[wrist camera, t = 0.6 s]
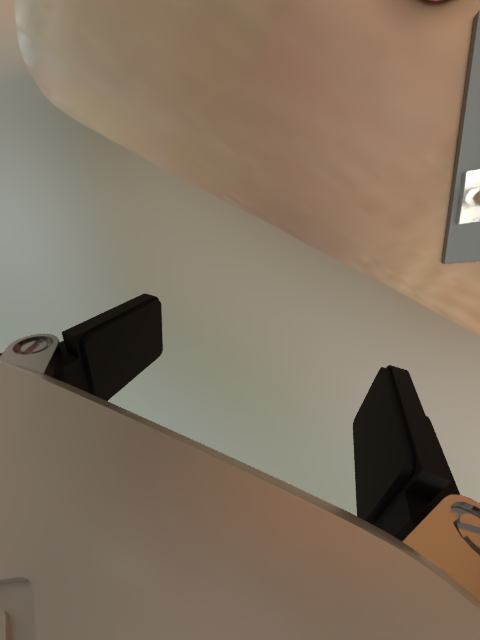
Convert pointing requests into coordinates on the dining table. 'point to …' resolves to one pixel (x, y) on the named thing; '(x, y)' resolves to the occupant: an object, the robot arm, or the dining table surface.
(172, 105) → the dining table surface
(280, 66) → the dining table surface
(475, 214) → the white plate with knobs
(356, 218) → the dining table surface
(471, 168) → the board
